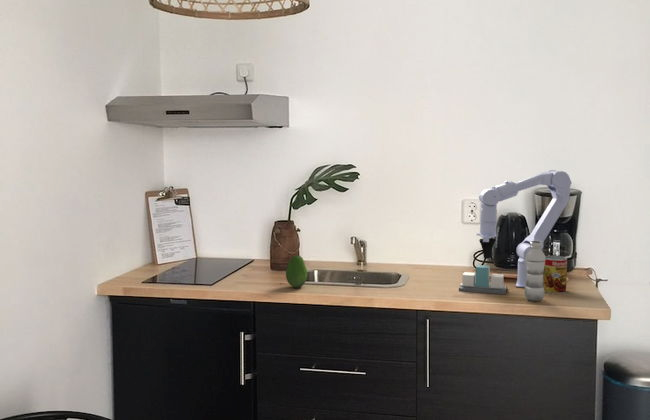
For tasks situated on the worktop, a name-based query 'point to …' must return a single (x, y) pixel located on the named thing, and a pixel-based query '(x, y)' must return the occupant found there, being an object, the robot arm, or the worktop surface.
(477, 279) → the block
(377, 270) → the worktop surface
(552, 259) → the canned food
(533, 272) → the plastic bottle
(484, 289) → the rail board
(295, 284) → the avocado
